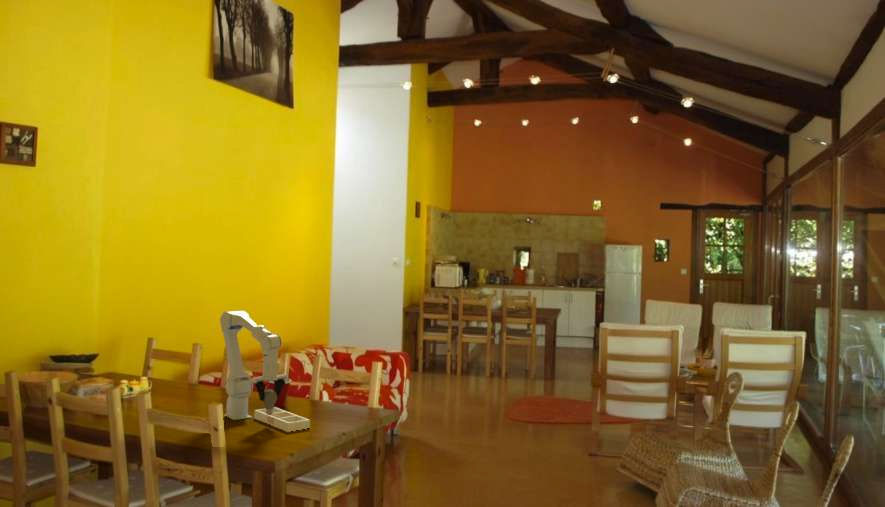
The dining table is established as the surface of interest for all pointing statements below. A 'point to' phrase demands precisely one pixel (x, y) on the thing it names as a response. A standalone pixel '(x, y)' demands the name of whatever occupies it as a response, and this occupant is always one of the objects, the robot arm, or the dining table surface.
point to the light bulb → (269, 401)
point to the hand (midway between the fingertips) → (269, 399)
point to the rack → (282, 419)
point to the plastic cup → (283, 394)
